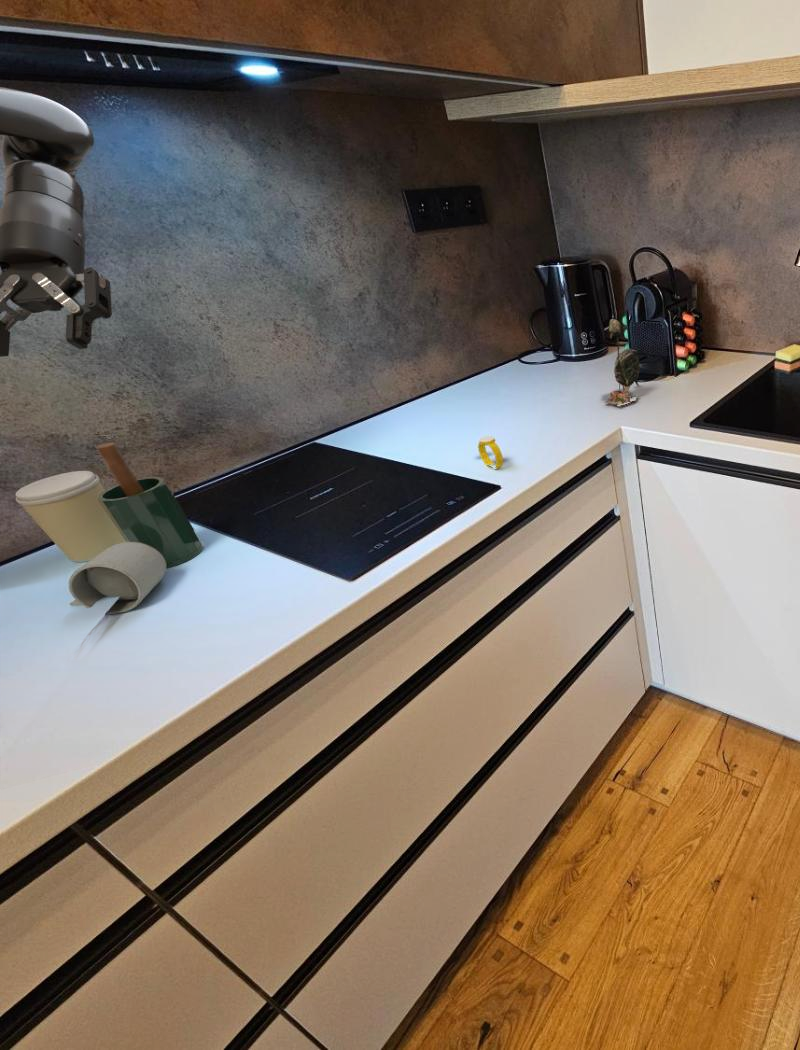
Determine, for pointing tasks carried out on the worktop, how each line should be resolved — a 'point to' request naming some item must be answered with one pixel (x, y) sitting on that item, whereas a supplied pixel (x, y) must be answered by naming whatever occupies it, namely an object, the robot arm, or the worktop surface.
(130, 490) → the mallet
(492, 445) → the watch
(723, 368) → the worktop surface
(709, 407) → the worktop surface
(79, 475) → the coffee cup
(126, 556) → the ceramic mug
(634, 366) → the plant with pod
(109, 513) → the green patterned cylindrical cup
